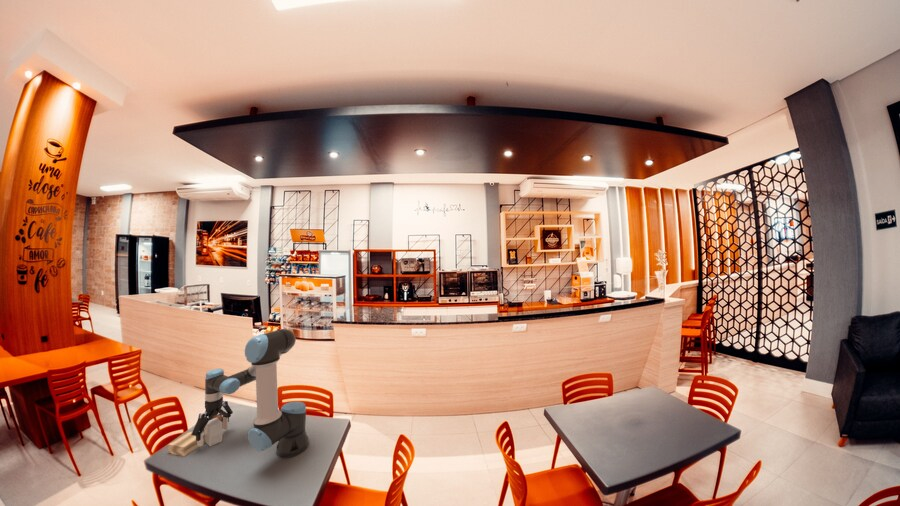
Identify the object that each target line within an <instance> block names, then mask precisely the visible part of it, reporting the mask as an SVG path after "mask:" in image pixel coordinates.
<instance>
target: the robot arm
mask: <svg viewBox="0 0 900 506" xmlns="http://www.w3.org/2000/svg"><path fill="white" fill-rule="evenodd" d="M296 339H297V338H296V335H295V333H294V332H293V331H292V330H290V329H286V328H279V329H276V330H273V331H270V332H266V333H262V334H261V333H260V334H258V335H256V336H252V337H251V338H250V339H249V340H248V341H247V343H246V345H245V347H244V356H245V358H246V361H247V362H248V363H251V364H250V366H249V367H248V368H247V369H244V370H242V371H240V372H237V373H234V374H231V375H225V372H224V369H223V368H214V369H211V370H208V371H206V373H205V379H204V383H205V384H204V386H205V387H204V400H205V401H204V409H205V411H204V412H202V413H199V414H198V417H197V421H196V423H195V425H194V426H193V427H194V428H193V429H192V431H191V432H192V434H191V435H193V436H196V441H197V446H199V447H202V446H203V445H204V444H203V434H204V433H203V432H204V428H205V426H206V425H207V423H208V421H209V420H210V419H211V418H212V417H214V416H215V415H218V414H221V415H222V417H223V416H225V417H223V427H222V430H229V422H230V418H231V416H232V415H233V412H234V411H233V410H232V408H231V407H230V406H229V402H228V401H227V400H224V394H225V395H231V394H234V393H236V392H237V391H238V390H239V389H240V387H242V386H243V387H244V386H245V385H247V384H249V383H252V382H255V387H256V388H255V390H256V391H255V392H256V417H255V418H254V419H253V427H252V428H250V430H249V431H248V432H247V440H248V443H249V445H250V446H251V447H252V448H253V449H254V450H255V451H257V452H263V451H265V450H267V449H268V448H271V447H272V446H273V445H274V444H276V443H277V444H276V448H275V453H276V456H278V458H279V457H280V458H287V459H288V458H292V457H295V456H297V455H299V454H302V453H303V452H304V451H305V450H306V449H307V448H308V446H309V444H310V443H309V441H310V440H309V436H308V435H307V430H306V422H307V421H306V419H307V417H306V416H307V409H306V404H305V403H304V402H302V401H290V402H287V403H285V404H283V405H282V406H281V408H280V409H279V403H278V402H279V399H278V398H279V397H278V396H279V395H278V394H279V392H278V371H277V369H278V367H277V363H278V362H279V361H280V358H281V356H283V355H284V354H287V353H288V352H290V350H291V349H292V348H294V346H295V345H296V341H297V340H296ZM222 408H224V410H223V409H222Z"/></svg>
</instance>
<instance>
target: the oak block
mask: <svg viewBox="0 0 900 506" xmlns="http://www.w3.org/2000/svg"><path fill="white" fill-rule="evenodd" d="M192 432H193V431H188V432H186V433H185V434H184V435H181V436H180V437H178V438H176V439H174V440H173V441H172V442H170V443H168V444H167V447H168V448H167V453H168V454H169V453H171V454H170V455H173V456H174V455H175V456H180V457H186V456H187V455H188V454H190V453H191V452H194V451H195V450H197V449H199V447H200V446H197V441H196V436H193V435H191V434H192ZM204 444H206V442H205V434H204V433H203V445H204Z"/></svg>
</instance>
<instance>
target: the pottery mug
mask: <svg viewBox="0 0 900 506" xmlns="http://www.w3.org/2000/svg"><path fill="white" fill-rule="evenodd" d="M223 417H225V416H223V415H221V414H220V413H218V414H217V415H215V416H214V417H212V418H211V419H210V420H212V419H214V418H218V419H219V420H220V421H221V422H222V428H223Z"/></svg>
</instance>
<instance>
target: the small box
mask: <svg viewBox="0 0 900 506" xmlns="http://www.w3.org/2000/svg"><path fill="white" fill-rule="evenodd" d="M203 432H204V433H203V434H205V444H207V446H208V447H212V446H214V445H216V444H218V443H219V444H220V443H221V442H222V441H223V427H222V422H221V421H220V420H219V419H218V418H214V419H212V420H209V421H208V423H207V425H206V426H205V428H204V430H203Z"/></svg>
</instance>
